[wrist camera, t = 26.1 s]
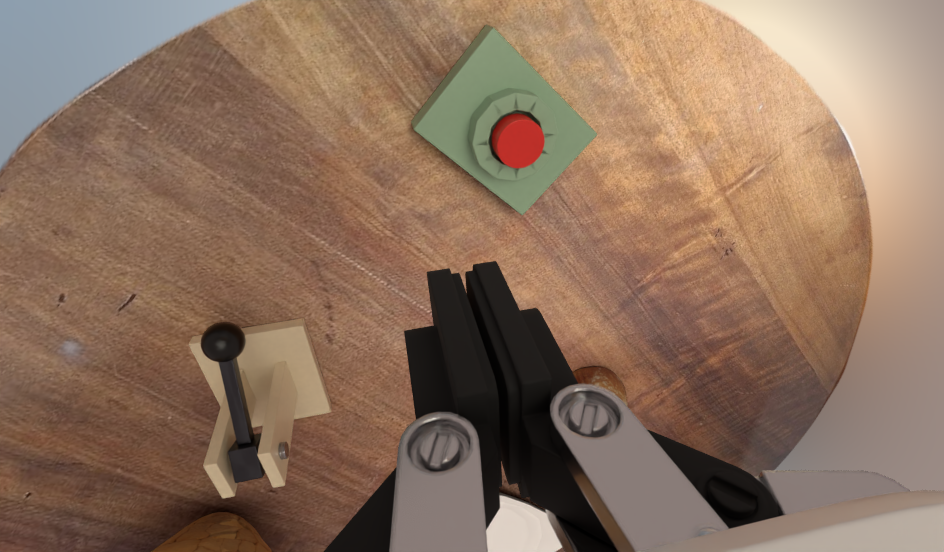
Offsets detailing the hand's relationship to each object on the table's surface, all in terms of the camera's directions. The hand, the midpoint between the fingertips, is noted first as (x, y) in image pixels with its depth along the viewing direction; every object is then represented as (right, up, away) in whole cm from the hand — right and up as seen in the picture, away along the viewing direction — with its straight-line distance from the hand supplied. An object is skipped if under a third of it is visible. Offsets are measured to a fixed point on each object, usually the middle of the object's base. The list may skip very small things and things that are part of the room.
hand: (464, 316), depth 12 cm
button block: (+3, +13, +27) cm, 31 cm away
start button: (+3, +11, +24) cm, 27 cm away
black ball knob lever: (-19, -9, +29) cm, 36 cm away
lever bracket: (-20, -9, +36) cm, 42 cm away
